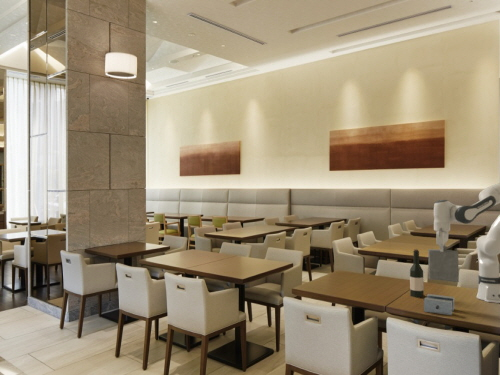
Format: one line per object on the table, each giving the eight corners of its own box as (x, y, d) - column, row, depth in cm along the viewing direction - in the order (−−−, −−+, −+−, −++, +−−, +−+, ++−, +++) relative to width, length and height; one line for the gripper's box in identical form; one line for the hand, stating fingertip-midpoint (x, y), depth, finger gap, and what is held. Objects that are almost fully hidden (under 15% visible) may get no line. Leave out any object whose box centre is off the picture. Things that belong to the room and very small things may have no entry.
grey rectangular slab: (428, 279, 239) (427, 245, 239) (429, 277, 242) (429, 244, 242) (458, 282, 230) (457, 247, 230) (459, 280, 233) (458, 246, 233)
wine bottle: (412, 293, 267) (411, 248, 267) (425, 295, 262) (424, 249, 262) (408, 296, 260) (407, 249, 260) (421, 298, 255) (420, 251, 255)
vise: (454, 309, 232) (454, 297, 232) (451, 316, 220) (450, 303, 220) (428, 305, 239) (428, 293, 239) (423, 311, 227) (423, 299, 227)
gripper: (445, 229, 226) (445, 254, 226) (450, 226, 243) (450, 248, 243) (433, 229, 229) (433, 253, 229) (438, 225, 246) (439, 248, 246)
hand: (442, 251), depth 236 cm, fingers closed on grey rectangular slab, 4 cm apart
